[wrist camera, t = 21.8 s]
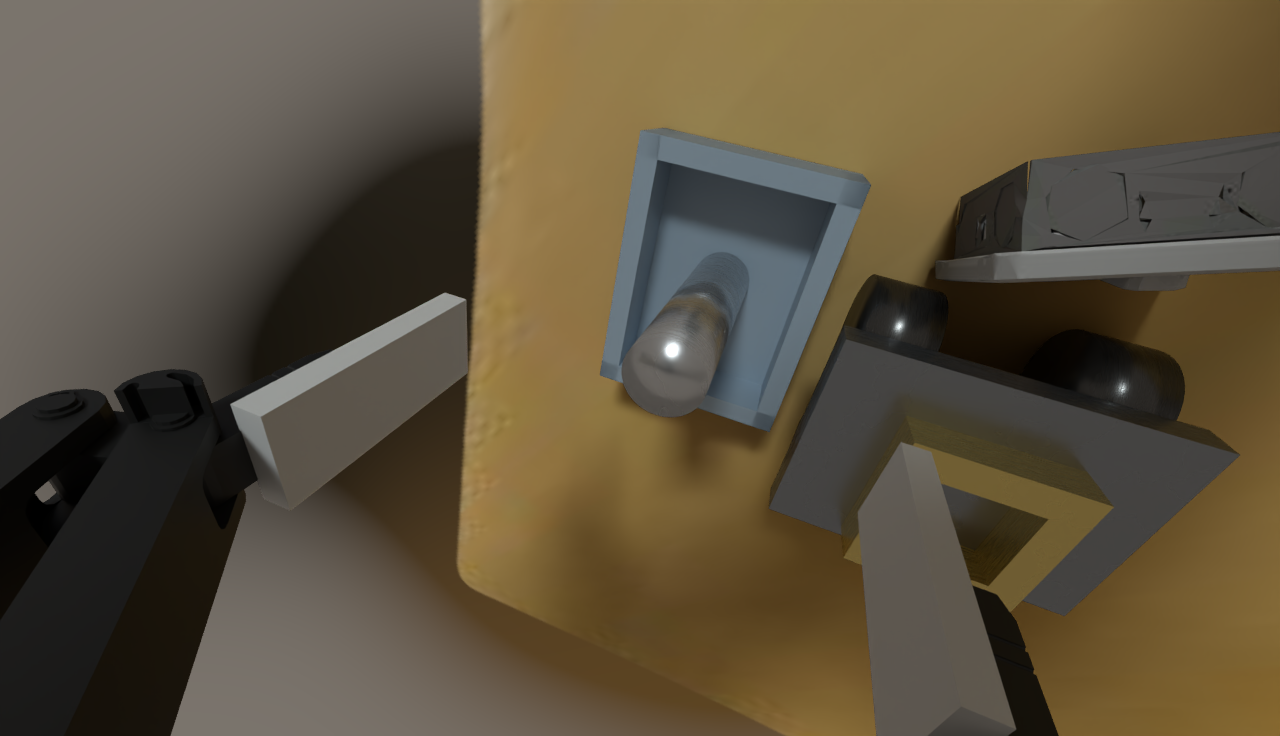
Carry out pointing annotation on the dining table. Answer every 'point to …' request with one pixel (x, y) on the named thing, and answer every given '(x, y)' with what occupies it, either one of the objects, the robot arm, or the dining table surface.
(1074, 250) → the electrical switch
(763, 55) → the dining table surface
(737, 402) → the tray
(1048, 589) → the trolley
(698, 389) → the pin
